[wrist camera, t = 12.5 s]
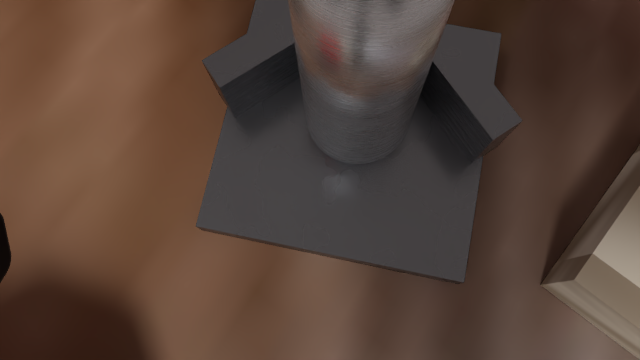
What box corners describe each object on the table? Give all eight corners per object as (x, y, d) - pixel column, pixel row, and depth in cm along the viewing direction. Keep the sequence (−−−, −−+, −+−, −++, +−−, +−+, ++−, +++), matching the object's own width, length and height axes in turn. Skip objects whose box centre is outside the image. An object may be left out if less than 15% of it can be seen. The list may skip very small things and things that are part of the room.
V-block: (469, 286, 21) (500, 280, 17) (190, 228, 22) (159, 209, 18) (505, 47, 23) (539, -7, 19) (251, 1, 24) (235, -59, 20)
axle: (346, 184, 21) (357, 12, 9) (285, 103, 22) (227, -147, 10) (430, 125, 21) (542, -110, 10) (368, 48, 22) (403, -252, 11)
